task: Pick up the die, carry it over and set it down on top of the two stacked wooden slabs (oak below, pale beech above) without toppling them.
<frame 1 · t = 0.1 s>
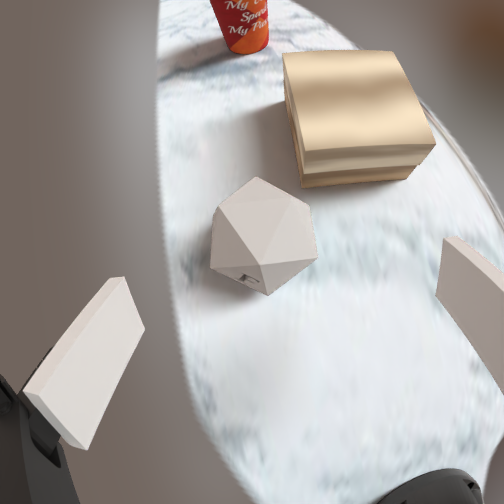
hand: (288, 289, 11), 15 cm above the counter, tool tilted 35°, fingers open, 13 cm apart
tower base slab: (344, 137, 29), on the counter
tower top slab: (350, 117, 25), point 4 cm above the counter
paper cup: (248, 42, 33), on the counter
die: (266, 245, 28), on the counter
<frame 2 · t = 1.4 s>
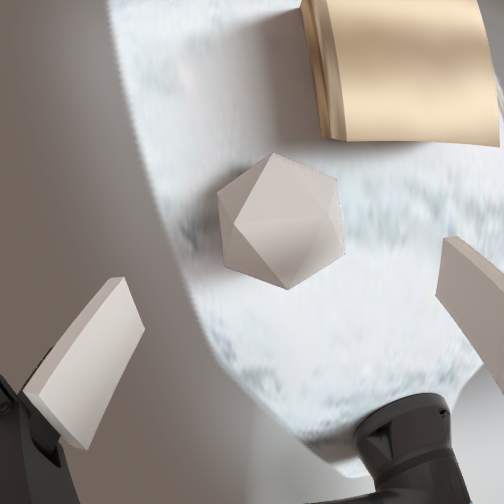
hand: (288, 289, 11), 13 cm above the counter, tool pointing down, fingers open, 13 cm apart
tower base slab: (377, 68, 19), on the counter, touching tower top slab
tower top slab: (399, 61, 15), point 3 cm above the counter, touching tower base slab
die: (279, 206, 24), on the counter
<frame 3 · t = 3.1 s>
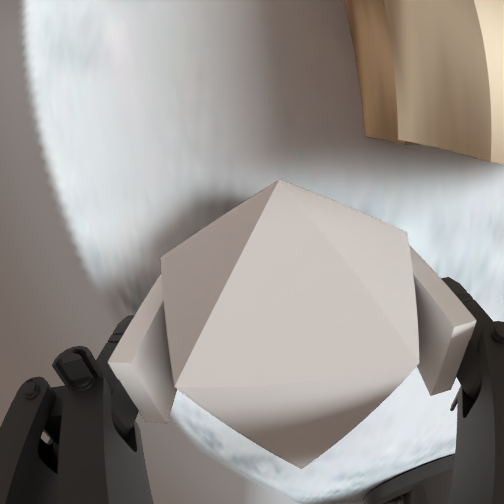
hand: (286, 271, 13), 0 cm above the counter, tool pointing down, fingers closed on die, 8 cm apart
tower base slab: (452, 27, 8), on the counter, touching tower top slab
die: (285, 266, 13), on the counter, touching gripper
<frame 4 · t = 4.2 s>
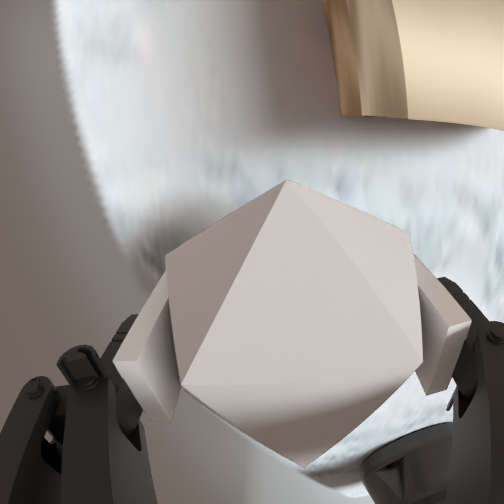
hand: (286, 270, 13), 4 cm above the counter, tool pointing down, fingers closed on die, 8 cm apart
tower base slab: (418, 25, 11), on the counter, touching tower top slab
tower top slab: (456, 10, 7), point 4 cm above the counter, touching tower base slab
die: (288, 265, 13), point 3 cm above the counter, touching gripper
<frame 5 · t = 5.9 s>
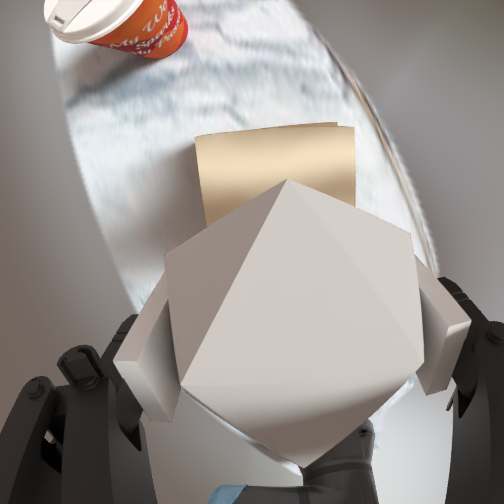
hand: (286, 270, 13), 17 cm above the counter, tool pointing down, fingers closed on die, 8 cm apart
tower top slab: (278, 193, 25), point 4 cm above the counter, touching tower base slab
paper cup: (162, 33, 22), on the counter
die: (288, 265, 13), point 17 cm above the counter, touching gripper
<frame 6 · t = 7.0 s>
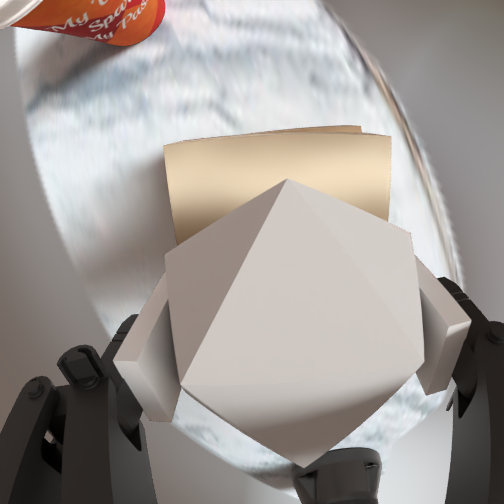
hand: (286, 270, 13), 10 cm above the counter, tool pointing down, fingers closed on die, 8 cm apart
tower base slab: (279, 203, 22), on the counter, touching tower top slab
tower top slab: (280, 220, 19), point 4 cm above the counter, touching tower base slab
paper cup: (134, 15, 16), on the counter
die: (288, 265, 13), point 10 cm above the counter, touching gripper
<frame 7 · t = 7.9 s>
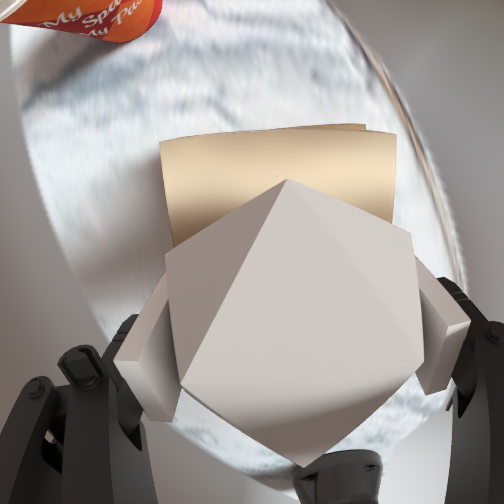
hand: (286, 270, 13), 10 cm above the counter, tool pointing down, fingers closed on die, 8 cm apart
tower base slab: (280, 203, 22), on the counter, touching tower top slab
tower top slab: (280, 220, 18), point 3 cm above the counter, touching tower base slab
paper cup: (130, 11, 15), on the counter
die: (288, 265, 13), point 9 cm above the counter, touching gripper
when the fingers open (10 cm above the counter, at t = 7.9 s): die drops 2 cm, resting on tower top slab.
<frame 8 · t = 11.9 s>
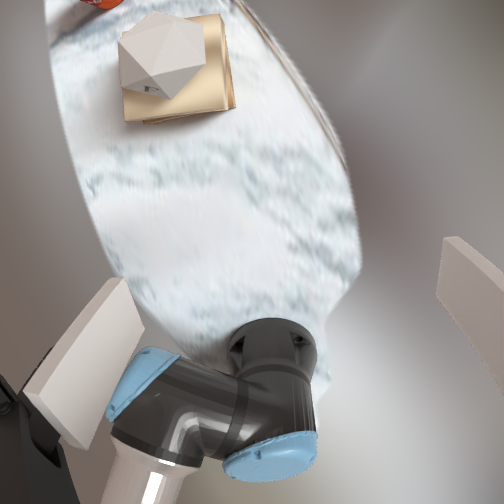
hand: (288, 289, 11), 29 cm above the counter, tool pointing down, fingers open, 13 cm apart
tower base slab: (188, 75, 33), on the counter, touching tower top slab
tower top slab: (179, 71, 29), point 3 cm above the counter, touching die, tower base slab
die: (173, 61, 26), point 7 cm above the counter, touching tower top slab
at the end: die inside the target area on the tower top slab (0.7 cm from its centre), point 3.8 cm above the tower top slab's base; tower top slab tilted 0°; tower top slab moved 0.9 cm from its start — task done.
